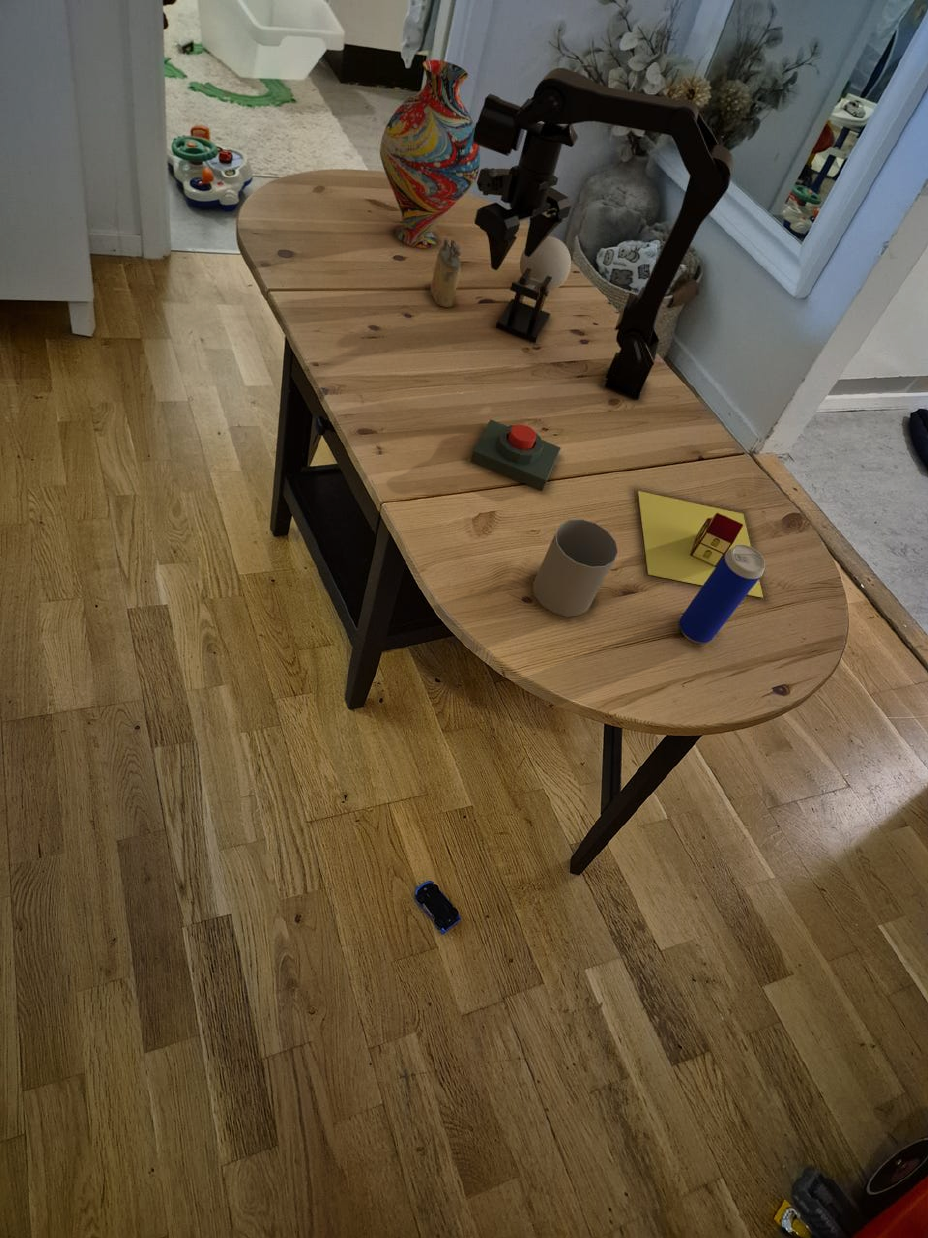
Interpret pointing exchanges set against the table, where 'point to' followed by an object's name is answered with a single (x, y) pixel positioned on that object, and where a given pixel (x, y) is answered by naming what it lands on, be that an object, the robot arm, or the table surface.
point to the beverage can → (722, 593)
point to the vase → (430, 153)
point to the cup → (574, 567)
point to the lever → (528, 288)
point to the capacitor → (446, 274)
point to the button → (522, 437)
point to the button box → (515, 456)
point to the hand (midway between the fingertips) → (510, 262)
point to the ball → (548, 262)
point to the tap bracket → (525, 313)
